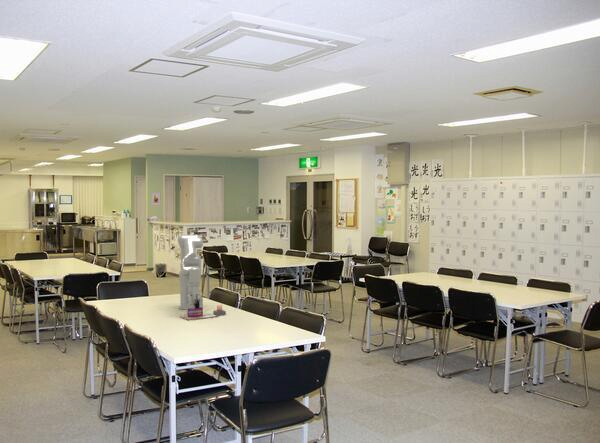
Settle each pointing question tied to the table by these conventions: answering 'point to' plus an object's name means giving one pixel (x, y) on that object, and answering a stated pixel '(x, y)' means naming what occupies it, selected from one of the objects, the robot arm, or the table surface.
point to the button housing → (219, 313)
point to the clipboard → (206, 315)
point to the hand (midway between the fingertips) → (194, 307)
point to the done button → (219, 308)
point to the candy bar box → (194, 307)
